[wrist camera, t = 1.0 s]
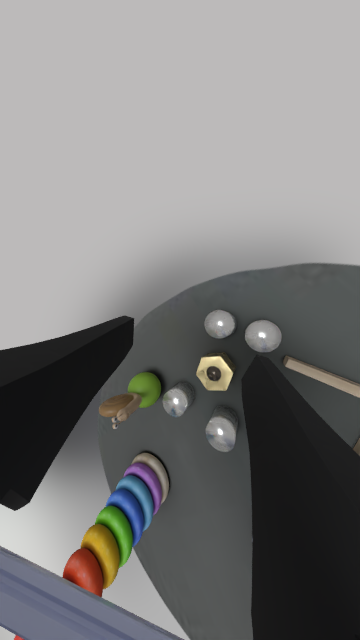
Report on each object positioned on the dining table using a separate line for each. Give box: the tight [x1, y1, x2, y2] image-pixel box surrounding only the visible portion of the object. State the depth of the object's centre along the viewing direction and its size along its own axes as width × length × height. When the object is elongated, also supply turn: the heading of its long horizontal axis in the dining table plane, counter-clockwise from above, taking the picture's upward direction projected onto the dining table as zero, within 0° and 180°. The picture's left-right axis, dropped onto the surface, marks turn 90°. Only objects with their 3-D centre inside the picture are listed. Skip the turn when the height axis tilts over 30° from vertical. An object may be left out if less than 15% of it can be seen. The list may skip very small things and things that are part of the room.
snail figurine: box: [99, 372, 161, 429], centre depth 23 cm, size 5×6×12 cm
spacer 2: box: [205, 310, 237, 339], centre depth 21 cm, size 4×4×4 cm
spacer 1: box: [163, 381, 195, 417], centre depth 24 cm, size 4×4×4 cm
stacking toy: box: [14, 453, 169, 640], centre depth 20 cm, size 8×8×19 cm
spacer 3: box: [206, 406, 238, 452], centre depth 21 cm, size 4×4×4 cm
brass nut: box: [196, 352, 236, 391], centre depth 22 cm, size 5×4×3 cm
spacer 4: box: [245, 320, 282, 352], centre depth 19 cm, size 4×4×4 cm
